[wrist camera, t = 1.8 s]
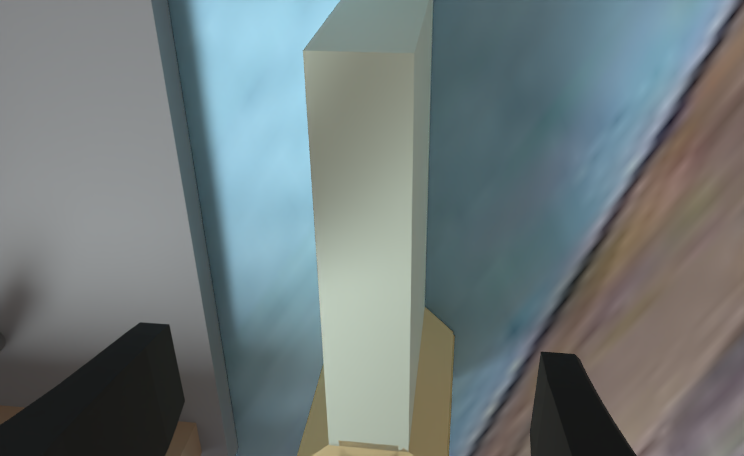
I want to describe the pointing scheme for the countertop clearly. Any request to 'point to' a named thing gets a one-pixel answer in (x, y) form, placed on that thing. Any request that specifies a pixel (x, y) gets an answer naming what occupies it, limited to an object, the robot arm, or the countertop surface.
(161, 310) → the cabinet base
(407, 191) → the door
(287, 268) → the countertop surface
